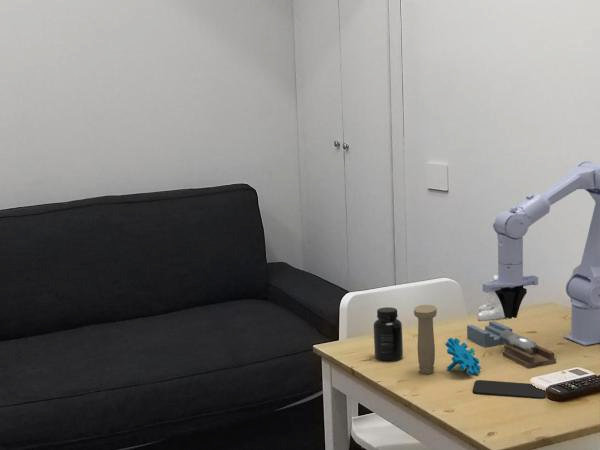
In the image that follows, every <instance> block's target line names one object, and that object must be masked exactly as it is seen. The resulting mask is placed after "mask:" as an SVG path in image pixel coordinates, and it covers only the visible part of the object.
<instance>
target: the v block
mask: <svg viewBox="0 0 600 450" xmlns="http://www.w3.org/2000/svg"><path fill="white" fill-rule="evenodd" d="M504 330H509V331H511V332H513V328H511V327H508V326H506V325H504V324H502V323H499V322H497V321H495V320H489V321H488V325H485V326H484V329H482V328H480V327H478V326H476V325H473V324H467V325H466V339H467V340H468V341H471V342H473V343H475V344H476V345H477V344H478V345H479V346H481V347H484V348H491V347H494V346H500V345H504V344H503V343H501V342H500V339H499V337H500V334H501V332H502V331H504Z"/></svg>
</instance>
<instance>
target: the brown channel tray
mask: <svg viewBox="0 0 600 450" xmlns="http://www.w3.org/2000/svg"><path fill="white" fill-rule="evenodd" d="M502 356H503V357H504V358H506V359H509V360H510V361H513V362H515V363H517V364H518V365H521V366H523V367H525V368H527V369H531V368H537V367H542V366H543V367H544V366H548V365H552V364H557V358H555V352H553V351H551V350H548V349H547V348H544V347H542V346H540V345H538V344H537V351H536V352H535V354H533V355H530V354H527V353H525V352H523V351H521V350H519V349H517V348H515V347H512V346H510V345H505V344H503V351H502Z"/></svg>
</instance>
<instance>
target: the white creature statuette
mask: <svg viewBox="0 0 600 450" xmlns="http://www.w3.org/2000/svg"><path fill="white" fill-rule="evenodd" d="M497 279H498V274H494V275H493V276H492V278H491V279H490V280H489V281H488V282H490V281H493V280H497ZM486 301H487V302H486V304H483V305H480V306H479V307H478V312H479V313H477V320H478V321H479V322H482V321H484V322H486V321H495V320H501V319H503V320H504V319H505V318H506V317H505V316H504V312H503V308H502V305H501V302H500V300H499V298H498V296H497V294H496V293H495V291H491V292H490V293H488V295H487V300H486Z"/></svg>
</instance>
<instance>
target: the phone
mask: <svg viewBox="0 0 600 450" xmlns="http://www.w3.org/2000/svg"><path fill="white" fill-rule="evenodd" d="M532 384H533V383H527V382H525V383H524V382H513V381H512V382H511V381H501V380H500V381H498V380H487V379H486V380H484V379H477V380H475V381H474V383H473V386H472V390H471V392H472V394H473V395H479V396H490V397H491V396H493V397H506V398H507V397H508V398H519V399H520V398H521V399H533V400H534V399H535V400H536V399H537V400H543V399H546V398H547V390H546V391H545V390H542V389H539V388H536V387H535V386H533V385H532Z"/></svg>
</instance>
